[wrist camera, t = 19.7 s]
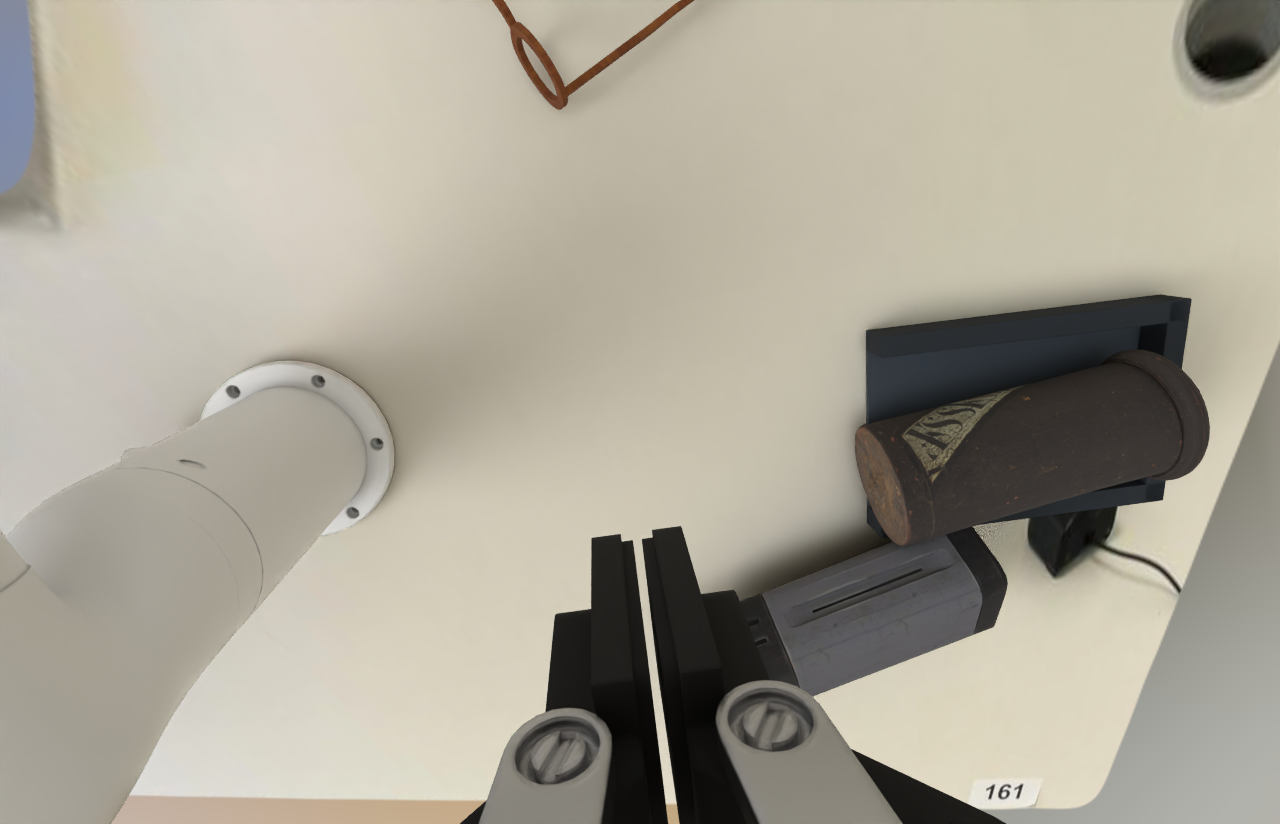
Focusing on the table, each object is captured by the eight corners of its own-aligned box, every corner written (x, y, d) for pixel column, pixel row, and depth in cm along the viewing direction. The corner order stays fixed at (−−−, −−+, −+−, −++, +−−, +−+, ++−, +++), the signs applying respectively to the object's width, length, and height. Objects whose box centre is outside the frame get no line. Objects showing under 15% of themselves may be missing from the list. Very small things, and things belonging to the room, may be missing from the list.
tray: (867, 522, 49) (881, 538, 47) (866, 330, 45) (881, 336, 42) (1135, 487, 50) (1163, 500, 48) (1160, 294, 46) (1192, 298, 43)
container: (842, 442, 49) (1098, 372, 49) (886, 558, 46) (1159, 485, 46) (868, 406, 41) (1176, 322, 40) (923, 544, 38) (1256, 455, 37)
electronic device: (719, 653, 52) (950, 563, 52) (746, 728, 48) (996, 632, 48) (694, 610, 45) (960, 506, 45) (722, 693, 42) (1015, 580, 41)
